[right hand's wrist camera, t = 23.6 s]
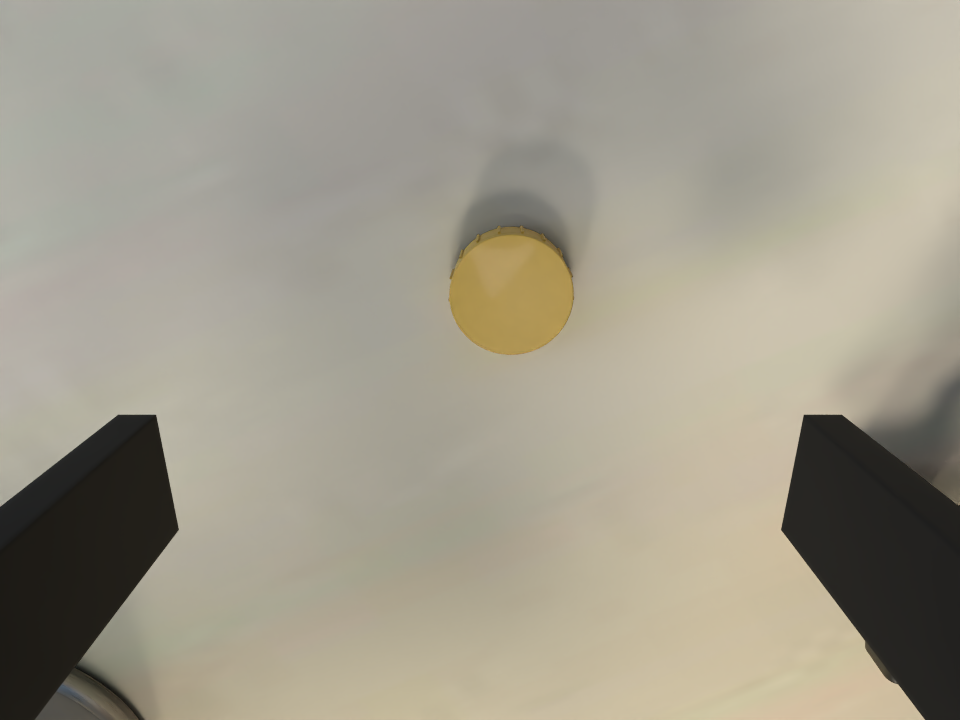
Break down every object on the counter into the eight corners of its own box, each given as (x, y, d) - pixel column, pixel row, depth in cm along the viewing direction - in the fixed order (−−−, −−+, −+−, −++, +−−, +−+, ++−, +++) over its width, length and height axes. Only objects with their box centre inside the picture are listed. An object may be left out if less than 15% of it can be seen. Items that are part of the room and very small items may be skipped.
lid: (460, 214, 25) (457, 221, 23) (582, 235, 25) (588, 244, 23) (443, 330, 27) (439, 345, 25) (556, 348, 27) (560, 365, 25)
